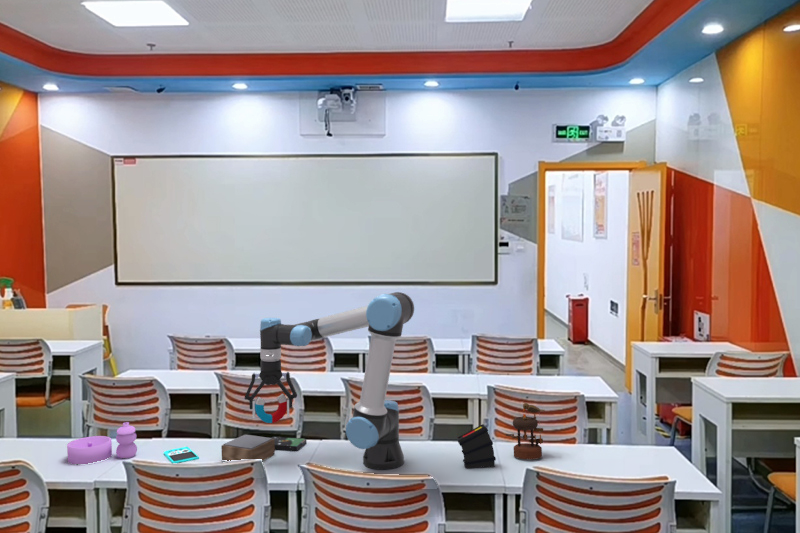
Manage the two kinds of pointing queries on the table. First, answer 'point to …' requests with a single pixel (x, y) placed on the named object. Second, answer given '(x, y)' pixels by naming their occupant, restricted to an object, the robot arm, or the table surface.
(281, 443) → the disk drive
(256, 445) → the walnut stand
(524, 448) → the music box
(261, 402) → the magnet
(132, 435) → the container set
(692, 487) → the table surface
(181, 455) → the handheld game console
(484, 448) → the magazine
